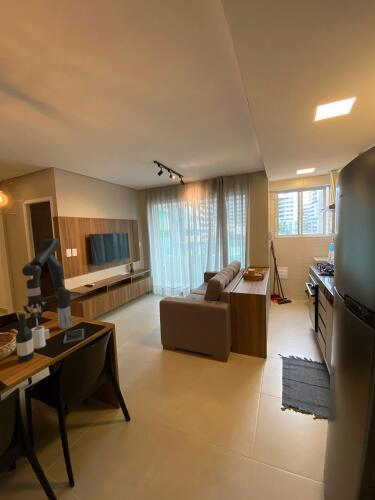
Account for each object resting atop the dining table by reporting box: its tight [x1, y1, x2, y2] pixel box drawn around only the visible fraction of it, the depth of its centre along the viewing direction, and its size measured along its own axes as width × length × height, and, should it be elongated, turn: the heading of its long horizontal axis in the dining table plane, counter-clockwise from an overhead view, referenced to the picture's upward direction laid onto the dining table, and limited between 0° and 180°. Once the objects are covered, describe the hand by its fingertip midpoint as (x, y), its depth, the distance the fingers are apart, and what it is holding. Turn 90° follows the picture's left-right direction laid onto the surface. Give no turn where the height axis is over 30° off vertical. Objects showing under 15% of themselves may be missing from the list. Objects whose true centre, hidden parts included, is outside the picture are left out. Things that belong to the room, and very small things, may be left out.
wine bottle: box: [15, 312, 35, 363], centre depth 134 cm, size 8×8×30 cm
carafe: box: [30, 325, 50, 350], centre depth 150 cm, size 10×8×13 cm
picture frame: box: [62, 328, 85, 345], centre depth 163 cm, size 13×2×18 cm
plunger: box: [33, 310, 42, 330], centre depth 149 cm, size 5×5×13 cm
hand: (36, 317), depth 148 cm, fingers closed on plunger, 3 cm apart
